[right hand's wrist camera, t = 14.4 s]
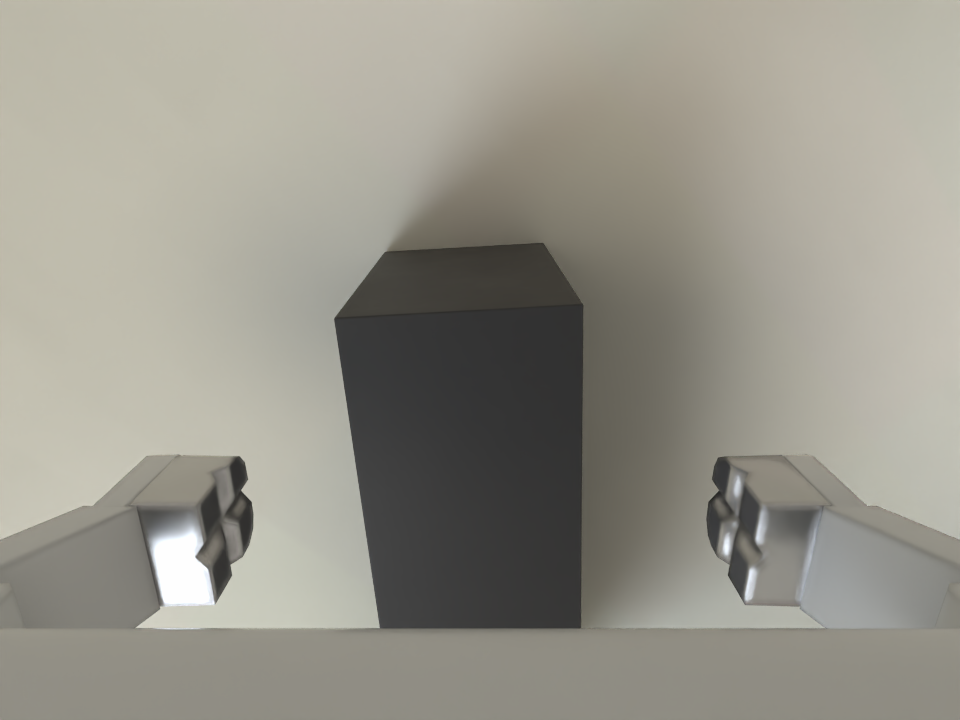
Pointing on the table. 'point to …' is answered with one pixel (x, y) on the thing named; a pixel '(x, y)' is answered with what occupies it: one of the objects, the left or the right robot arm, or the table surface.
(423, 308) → the box
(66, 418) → the table surface
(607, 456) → the table surface
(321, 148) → the table surface
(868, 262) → the table surface
